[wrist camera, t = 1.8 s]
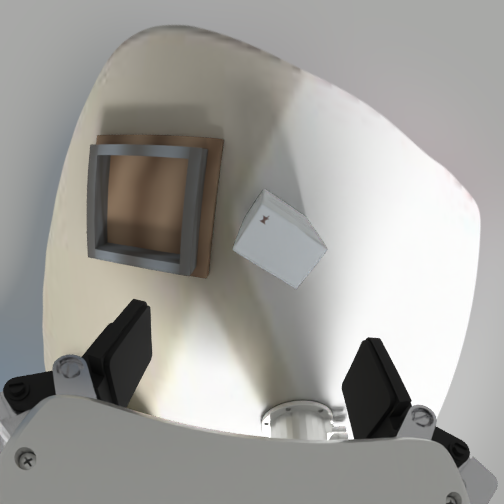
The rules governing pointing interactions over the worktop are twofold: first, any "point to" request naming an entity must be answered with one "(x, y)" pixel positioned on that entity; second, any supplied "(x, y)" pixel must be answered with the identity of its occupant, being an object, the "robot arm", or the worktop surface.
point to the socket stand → (153, 201)
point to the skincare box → (279, 240)
